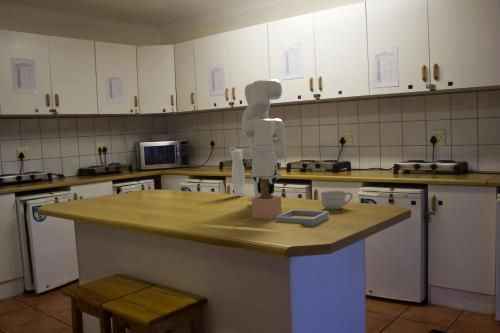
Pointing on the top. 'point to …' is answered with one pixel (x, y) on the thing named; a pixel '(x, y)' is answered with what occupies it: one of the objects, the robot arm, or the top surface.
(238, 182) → the skyscraper
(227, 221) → the top surface
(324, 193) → the teacup
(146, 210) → the top surface
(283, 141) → the robot arm
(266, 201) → the pink cube box
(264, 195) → the dowel pin
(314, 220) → the tray
